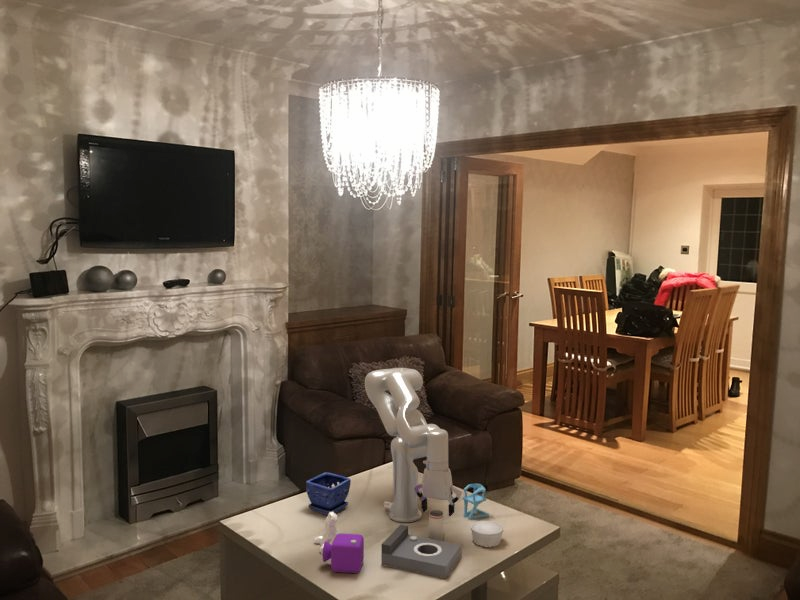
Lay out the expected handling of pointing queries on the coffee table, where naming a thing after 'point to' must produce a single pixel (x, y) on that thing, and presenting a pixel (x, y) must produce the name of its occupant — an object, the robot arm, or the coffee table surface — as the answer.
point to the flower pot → (328, 492)
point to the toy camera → (345, 552)
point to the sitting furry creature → (328, 530)
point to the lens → (436, 525)
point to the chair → (474, 501)
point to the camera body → (419, 553)
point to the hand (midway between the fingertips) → (437, 512)
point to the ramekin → (486, 533)
